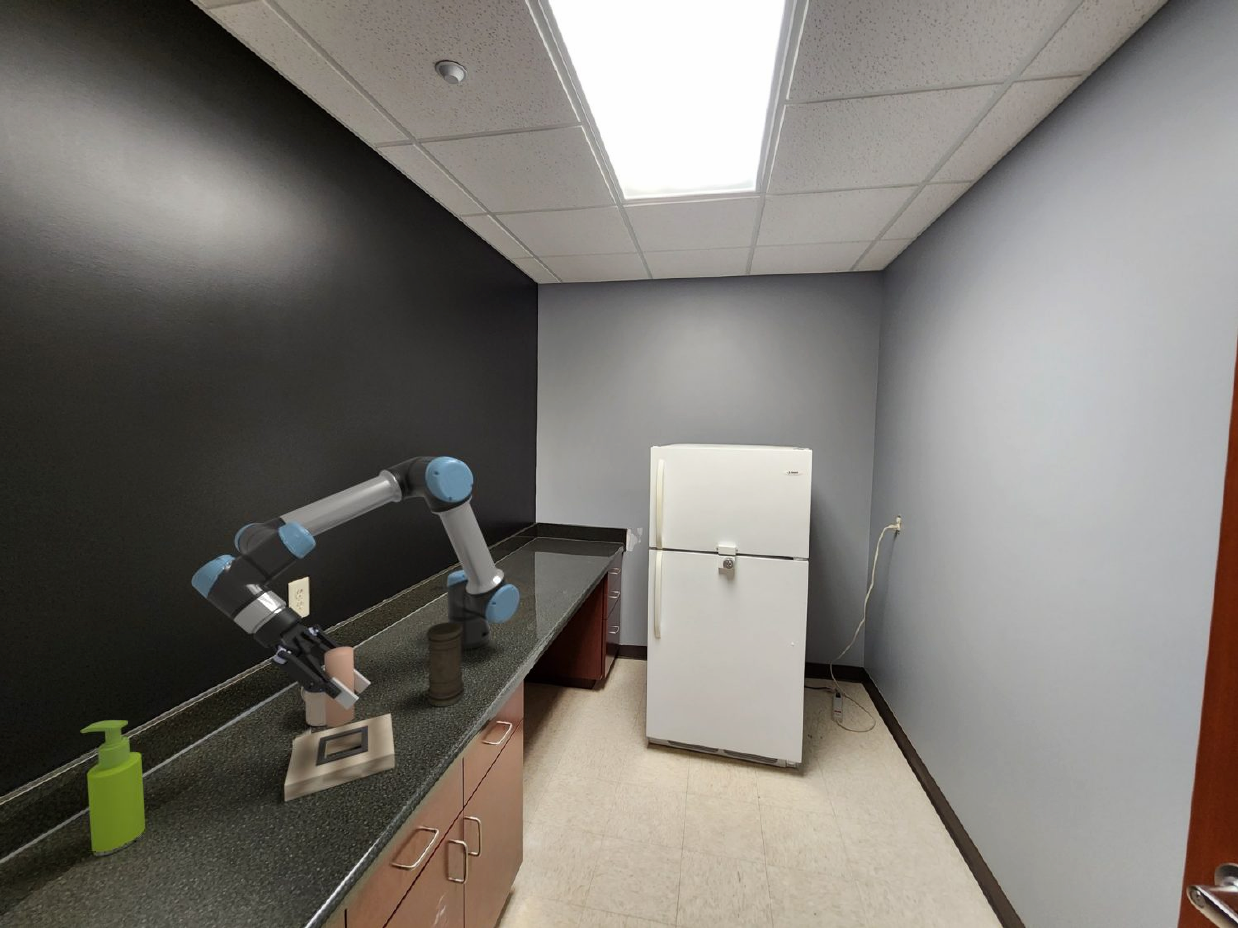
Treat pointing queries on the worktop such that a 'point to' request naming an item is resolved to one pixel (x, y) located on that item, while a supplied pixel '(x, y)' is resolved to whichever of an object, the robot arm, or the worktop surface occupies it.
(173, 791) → the worktop surface
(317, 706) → the teacup with lid
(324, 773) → the band board
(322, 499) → the robot arm
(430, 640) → the container
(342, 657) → the peg
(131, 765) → the soap dispenser
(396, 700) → the worktop surface
